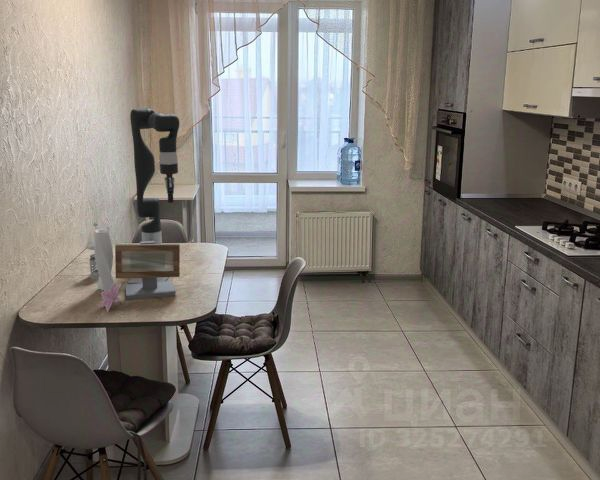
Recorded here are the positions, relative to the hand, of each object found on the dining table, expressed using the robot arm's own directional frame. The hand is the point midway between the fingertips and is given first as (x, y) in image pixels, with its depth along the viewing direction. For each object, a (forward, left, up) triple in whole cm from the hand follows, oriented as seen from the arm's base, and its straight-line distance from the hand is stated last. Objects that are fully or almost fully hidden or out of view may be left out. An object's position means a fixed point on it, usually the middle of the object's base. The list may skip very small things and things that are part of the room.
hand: (170, 202), depth 276 cm
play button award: (-10, -10, -37) cm, 40 cm away
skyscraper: (+1, -29, -37) cm, 47 cm away
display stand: (+10, -11, -36) cm, 39 cm away
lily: (+26, -26, -37) cm, 52 cm away
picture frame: (+12, -12, -29) cm, 34 cm away
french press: (-21, -32, -37) cm, 53 cm away
